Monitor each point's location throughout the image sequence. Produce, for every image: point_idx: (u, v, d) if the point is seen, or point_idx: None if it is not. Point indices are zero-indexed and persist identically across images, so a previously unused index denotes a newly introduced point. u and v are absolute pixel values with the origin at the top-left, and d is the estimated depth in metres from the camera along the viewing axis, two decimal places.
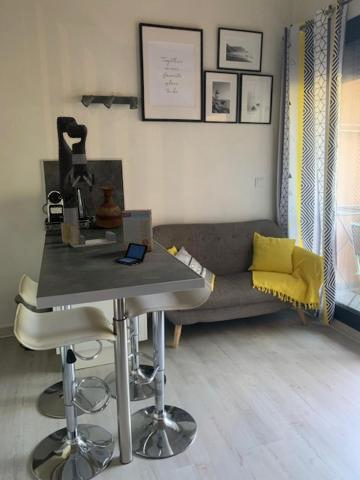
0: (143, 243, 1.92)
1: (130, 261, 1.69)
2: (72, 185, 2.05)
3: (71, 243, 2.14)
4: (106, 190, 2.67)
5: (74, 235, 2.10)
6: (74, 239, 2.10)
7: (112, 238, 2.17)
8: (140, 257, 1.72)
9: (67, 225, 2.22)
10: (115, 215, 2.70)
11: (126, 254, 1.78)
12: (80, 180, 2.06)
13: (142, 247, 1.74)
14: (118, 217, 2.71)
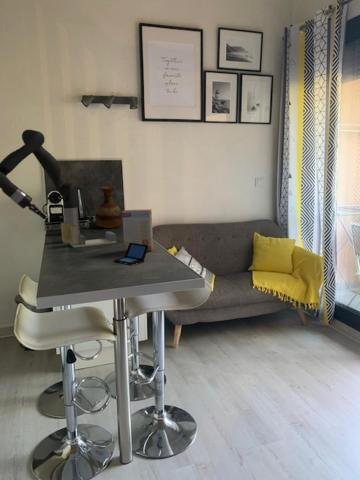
0: (143, 243, 1.92)
1: (131, 261, 1.69)
2: None
3: (71, 243, 2.14)
4: (106, 190, 2.67)
5: (74, 235, 2.10)
6: (74, 239, 2.10)
7: (112, 238, 2.17)
8: (140, 257, 1.72)
9: (67, 225, 2.22)
10: (115, 215, 2.70)
11: (126, 254, 1.78)
12: None
13: (142, 247, 1.74)
14: (118, 217, 2.71)
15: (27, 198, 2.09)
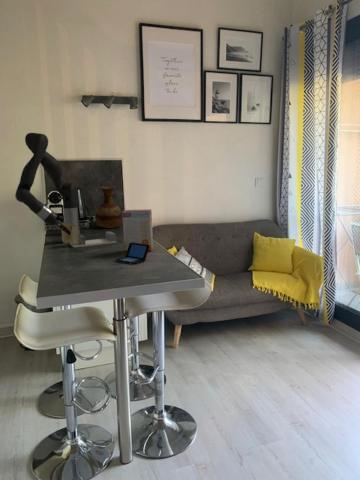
0: (143, 243, 1.92)
1: (132, 261, 1.70)
2: None
3: (71, 243, 2.14)
4: (106, 190, 2.67)
5: (74, 235, 2.10)
6: (74, 239, 2.10)
7: (112, 238, 2.17)
8: (142, 256, 1.73)
9: (67, 225, 2.22)
10: (115, 215, 2.70)
11: (127, 254, 1.78)
12: None
13: (143, 246, 1.75)
14: (118, 217, 2.71)
15: (53, 215, 2.17)
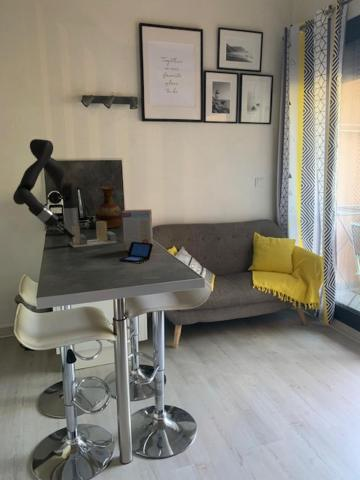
0: None
1: (137, 259, 1.72)
2: None
3: (71, 243, 2.14)
4: (106, 190, 2.67)
5: (76, 235, 2.10)
6: (76, 239, 2.11)
7: (112, 238, 2.17)
8: (146, 255, 1.75)
9: (102, 223, 2.16)
10: (115, 215, 2.70)
11: (129, 253, 1.80)
12: None
13: (147, 245, 1.77)
14: (118, 217, 2.71)
15: (54, 217, 2.04)
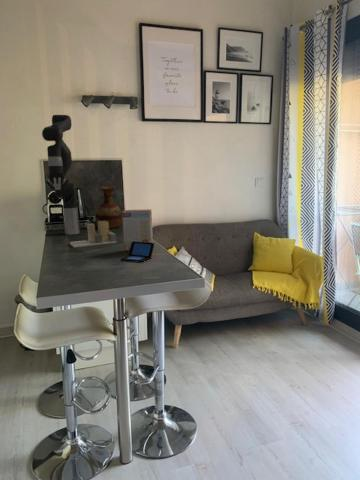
0: None
1: (139, 259, 1.73)
2: (55, 188, 2.10)
3: (71, 243, 2.14)
4: (106, 190, 2.67)
5: (91, 233, 2.14)
6: (91, 237, 2.14)
7: (112, 238, 2.17)
8: (147, 254, 1.76)
9: (104, 223, 2.17)
10: (115, 215, 2.70)
11: (130, 253, 1.81)
12: (56, 182, 2.10)
13: (148, 245, 1.78)
14: (118, 217, 2.71)
15: None
